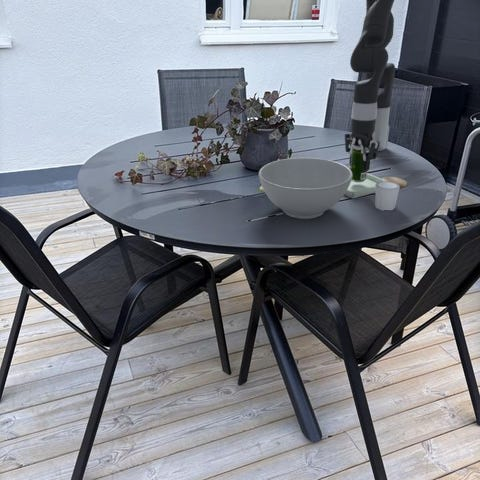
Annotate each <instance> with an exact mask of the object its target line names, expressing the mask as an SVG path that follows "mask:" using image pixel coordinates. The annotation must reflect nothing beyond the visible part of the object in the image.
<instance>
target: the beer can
mask: <svg viewBox="0 0 480 480" xmlns="http://www.w3.org/2000/svg"><path fill="white" fill-rule="evenodd" d="M364 150H365V151H366V150H369V147H368V148H365V149H364ZM366 156H368V153H366ZM362 165H363V154H361V147H360V145H357V144H355V145H354V144H353V147H352V155H351V166H350V168H349V169H350V170H351V171H352V174H353V177H352V180H351V181H353V182H364V181H365V180H366V177H367V173H368V171H366V172H363V171H362Z"/></svg>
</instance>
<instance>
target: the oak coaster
mask: <svg viewBox="0 0 480 480" xmlns="http://www.w3.org/2000/svg"><path fill="white" fill-rule="evenodd" d="M381 179H383V180H386V181H388V182H394V183H397V184H398V185H399V186H400V188H399V189H401V188H402V189H403V188H405V187H406V186H407V184H408V182H407V181H406V179H403V178H400V177H394V176H389V177H388V176H387V177H382V178H381Z"/></svg>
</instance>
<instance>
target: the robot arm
mask: <svg viewBox="0 0 480 480" xmlns="http://www.w3.org/2000/svg"><path fill="white" fill-rule="evenodd" d="M365 2H366V8H365V11H366V13H365V16H364V20H363V24H362V30H361V36H360V38H359V40H358V42H357V44H356V45H355V48H354V49H353V51H352V54H351V57H350V60H349V61H350V62H349V64H350V68H351V69H352V71H353V72H354V73H357V74H358V73H360V74H361V73H362V74H363V73H364V80H360V81H357V82H356V83H355V85H354V92H353V103H352V108H351V116H350V117H351V118H350V129H349V130H350V132H349V133H345V134H344V144H345V147H344V148H345V152H346V153H348V155H349V166H350V167H351V155H352V147H353V144H354V145H355V144H357V145H360V147H361V154H363V165H362V171H363V172H366V171H367V172H368V171H369V170H370V167H371V166H370V165H371V161H373V160H376V158H377V155H378V152H382V151H385V150H386V149H388V142H389V134H390V124H389V120H390V119H389V118H390V112H391V111H390V110H391V102H392V95H393V94H392V93H393V92H392V91H393V86H394V82H395V81H394V80H395V76H396V66H395V64H394V63H392V62H388V61H389V53H388V50H387V49H386V48H387V46H388V45H389V44H390V42H392V39H393V36H394V26H395V18H394V15H393V13H392V9H393V5H394V2H395V0H366V1H365ZM379 89H383V91H381V92H380V93H379ZM368 147H369V150H366V151H365V150H364V149H365V148H368ZM366 153H368V156H366Z"/></svg>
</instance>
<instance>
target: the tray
mask: <svg viewBox="0 0 480 480" xmlns="http://www.w3.org/2000/svg"><path fill="white" fill-rule="evenodd" d="M383 181H386V180H383V179H382V178H380V177H378V176H376V175H374V174H371V173H368V172H367V177H366V180H365V181H364V182H353V181H351V183H350V185H349V187H348V189H347V191H346V192H345V194H344V195H345V196H346V197H348V198H351V199H352V200H353V199H357V198H361V197H364V196H367V195H370V194H375V192H376V183H378V182H383ZM344 195H343V196H344Z"/></svg>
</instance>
